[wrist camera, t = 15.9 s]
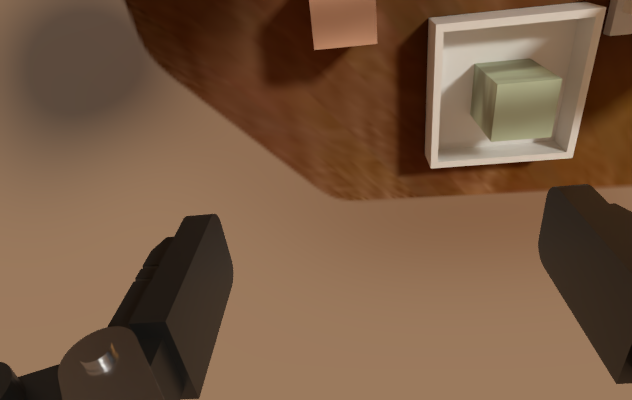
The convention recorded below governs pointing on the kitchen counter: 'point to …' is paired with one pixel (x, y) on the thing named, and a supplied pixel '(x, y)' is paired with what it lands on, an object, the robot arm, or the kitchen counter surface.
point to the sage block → (514, 99)
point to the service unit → (619, 18)
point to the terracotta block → (343, 23)
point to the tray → (501, 45)
